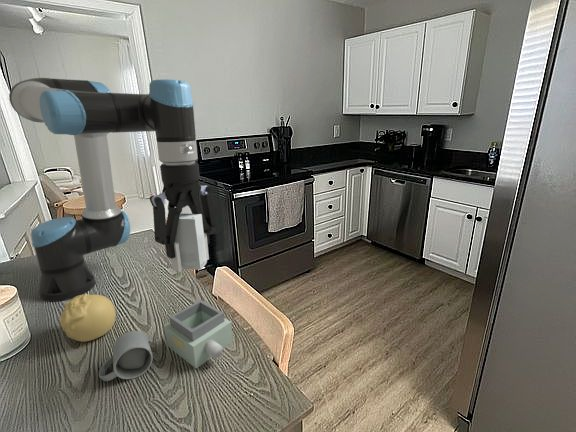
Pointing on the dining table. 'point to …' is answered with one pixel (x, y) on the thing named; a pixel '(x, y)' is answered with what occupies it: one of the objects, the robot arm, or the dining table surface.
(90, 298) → the sculpture
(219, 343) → the green open box
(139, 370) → the ceramic mug
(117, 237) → the robot arm
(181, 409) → the dining table surface
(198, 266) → the skincare box
